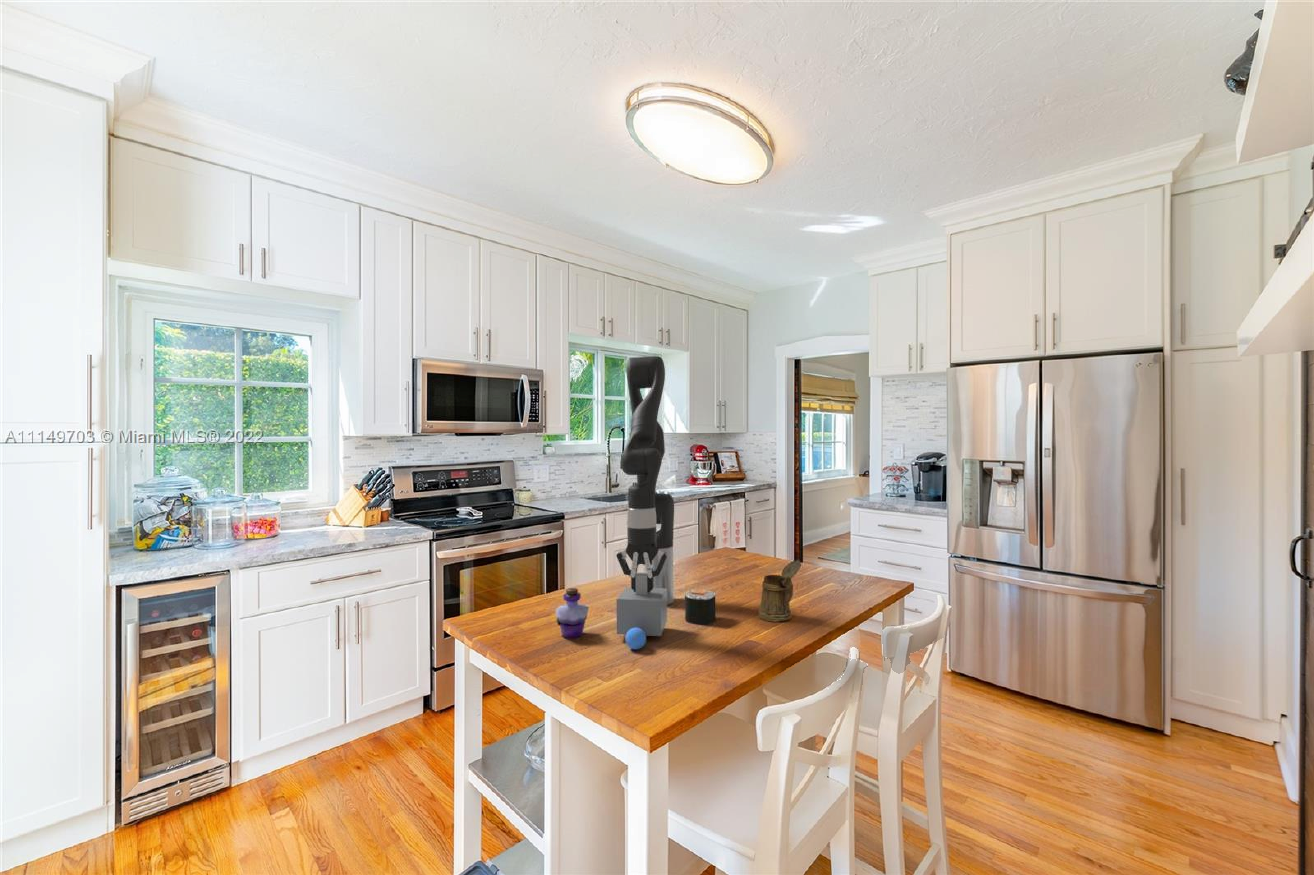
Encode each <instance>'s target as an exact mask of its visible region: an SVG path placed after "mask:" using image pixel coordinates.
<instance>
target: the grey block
mask: <svg viewBox="0 0 1314 875" xmlns="http://www.w3.org/2000/svg"><path fill="white" fill-rule="evenodd" d="M647 578H648V574H647V573H644V572H637V574H636V592H634V590H632V588H631V586H625V588H623V590H622V591H621V592H620V594H619V595H618V596H617V598H616V635H625V636H626V634H627V632H628V631H629V630H630V629H632V628H640V629H642V630H643V631H644V633H645V635H646V637H647V636H648V637H649V636H652V637H661V636H662V634H663V632H664V629H665V627H666V624H667V622H668V605H667V589H666V588H653V590H651V592H648V591H647Z"/></svg>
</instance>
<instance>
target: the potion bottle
mask: <svg viewBox="0 0 1314 875" xmlns="http://www.w3.org/2000/svg"><path fill="white" fill-rule="evenodd" d="M581 596H582V595H581V592H579V589H578V588H576V587H569V588H567V589H566V590H565V593H564V594H563V601H565V602H566V604H564V605H559V606H558V607H557V608H556V609H555V615H556V623H557V625H558V626H559V627H560V632H561V637H563V639H566V640H575V639H579V638H583V635H584V630H585V629H584V628H585V624H586V620H587V619H588V613H589V608H590V607H589V606H587V605H586V604H583V603H579V601H580V600H581Z"/></svg>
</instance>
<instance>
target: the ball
mask: <svg viewBox="0 0 1314 875" xmlns="http://www.w3.org/2000/svg"><path fill="white" fill-rule="evenodd" d="M624 638H625V643H626V646H628V647H629V648H630V649H632V650H639V649H642V648H643V647H644V646H645V645H646V641H647V635H645V633H644V631H643V630H642V629H640V628H632V629H630V630H629V631H628V632H627V634H626V635H625V637H624Z"/></svg>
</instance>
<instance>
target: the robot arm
mask: <svg viewBox="0 0 1314 875" xmlns="http://www.w3.org/2000/svg"><path fill="white" fill-rule="evenodd" d="M625 368H626V379H627V388H628V394H629V402H630V410H631V422H630V433H629V438H628V440H627V443H626V445H625V447H624V450H623V451H622V454H621V457H620V467H621V469H622V470H621V471H623V473H624V474H626V475H628V476H636V479H637V480H636V484H632V485H630V486H629V487H628V490H627V499H628V500H627V503H628V504H627V506H628V508H627V517H626V519H627V521H626V526H627V529H626V530H627V534H626V535H627V545H626V548H625V550H622V551H618V553H617V554H616V559H617V561H618V562H619V565H620V568H621V571H622V572H623V575H625V576H629V577H630V584H631V585H630V587H631V588H632V590H634V592H636V574H637V573H638V568H639V565H643V573H647V574H648V578H647V591H648V592H651V590H653V588H666V589H667V606H668V605H670V604H671V605H672V604H673V603H674V600H675V599H674V598H675V596H674V591H675V590H674V586H675V585H674V521H675V502H674V498H673V496H672V495H671V494H669V493H656V488H657V482H658V478H659V474H660V470H661V467H662V463H663V458H664V456H665V451H666V448H665V447H666V446H665V433H664V430H663V428H662V426H661V424H660V422H659V421H658V417H659V416H658V415H659V411H660V410H659V409H660V406H661V400H662V395H663V390H664V388H665V387H664V386H665V381H666V367H665V363H664V360H663V358H662V357H661V356H658V355H656V356H655V355H653V356H652V355H651V356H637V357H629V358H628V359H627V362H626V366H625ZM641 389H649V391H648V393H647V395H646V396H645V398H644V397H643V396H642V392H641ZM657 525H660V529H659V530H657ZM627 556H628V558H630V561H632V562H631V569H630V566H629V565H628V562H627V560H626V559H627Z"/></svg>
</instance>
